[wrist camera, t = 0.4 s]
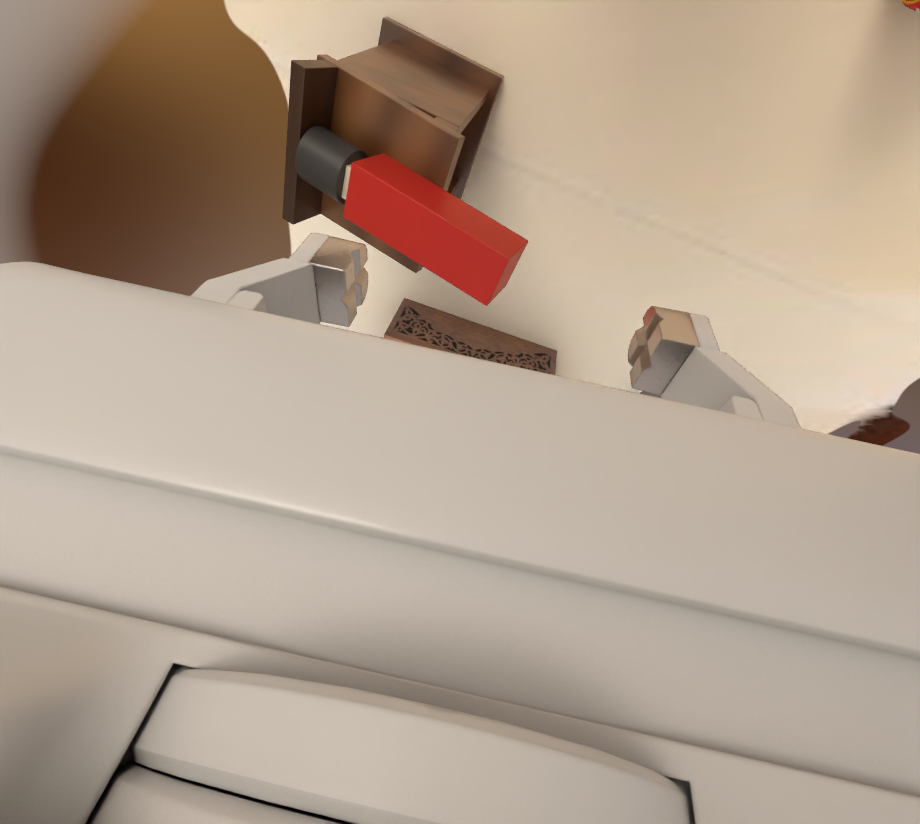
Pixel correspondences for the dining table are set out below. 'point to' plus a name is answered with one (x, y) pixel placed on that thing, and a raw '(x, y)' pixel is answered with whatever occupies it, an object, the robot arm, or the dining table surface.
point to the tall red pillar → (412, 214)
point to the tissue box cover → (466, 338)
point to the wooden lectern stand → (390, 116)
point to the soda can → (912, 4)
